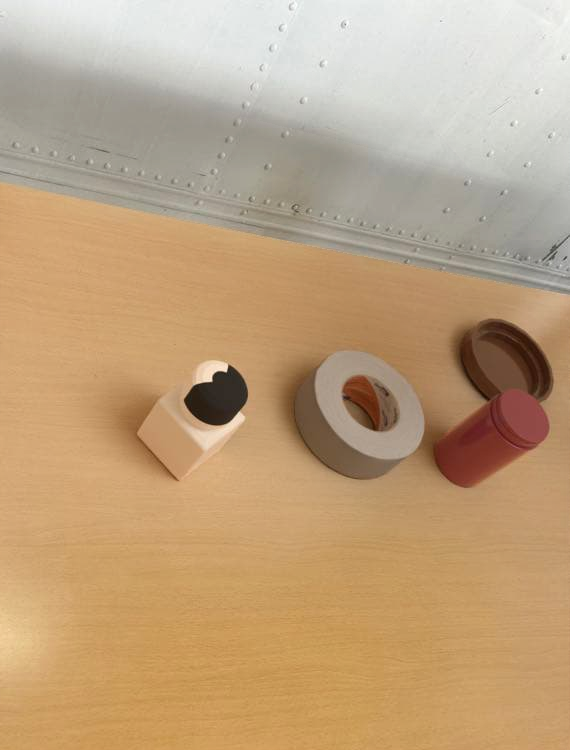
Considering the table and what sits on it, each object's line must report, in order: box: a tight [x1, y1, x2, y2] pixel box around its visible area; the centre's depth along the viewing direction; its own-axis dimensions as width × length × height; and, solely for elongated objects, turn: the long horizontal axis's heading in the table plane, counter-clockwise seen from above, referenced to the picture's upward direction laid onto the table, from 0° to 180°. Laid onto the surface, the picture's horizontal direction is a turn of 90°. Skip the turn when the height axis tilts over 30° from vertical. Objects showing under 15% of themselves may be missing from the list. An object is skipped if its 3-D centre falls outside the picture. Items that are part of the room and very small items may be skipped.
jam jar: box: [433, 389, 550, 489], centre depth 97 cm, size 8×8×12 cm
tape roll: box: [293, 349, 426, 480], centre depth 95 cm, size 15×15×5 cm
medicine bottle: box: [136, 359, 249, 481], centre depth 81 cm, size 7×7×12 cm
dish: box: [461, 317, 555, 405], centre depth 111 cm, size 14×14×3 cm
